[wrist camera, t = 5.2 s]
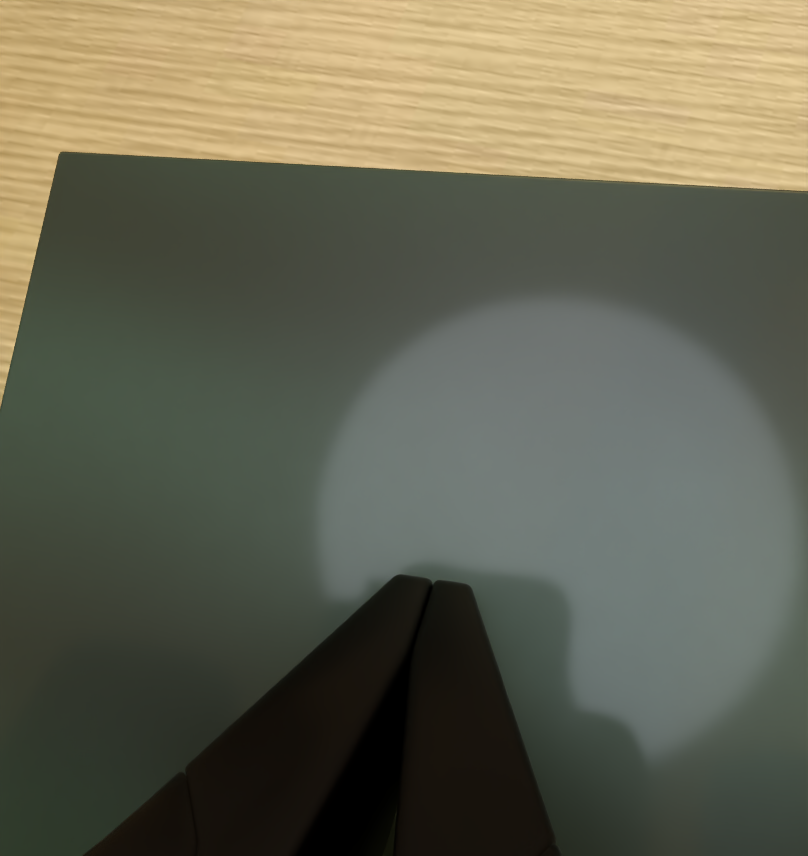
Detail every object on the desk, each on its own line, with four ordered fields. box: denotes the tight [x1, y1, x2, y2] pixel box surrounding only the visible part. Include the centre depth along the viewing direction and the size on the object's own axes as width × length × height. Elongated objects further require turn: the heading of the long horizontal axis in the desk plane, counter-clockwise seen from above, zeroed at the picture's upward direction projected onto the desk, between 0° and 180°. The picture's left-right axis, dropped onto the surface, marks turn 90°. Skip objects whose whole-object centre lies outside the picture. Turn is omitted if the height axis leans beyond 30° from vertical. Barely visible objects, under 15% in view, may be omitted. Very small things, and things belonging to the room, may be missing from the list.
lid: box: [0, 152, 808, 856], centre depth 9 cm, size 15×13×1 cm
